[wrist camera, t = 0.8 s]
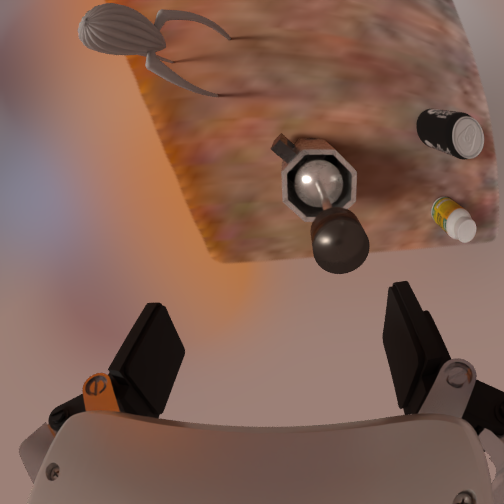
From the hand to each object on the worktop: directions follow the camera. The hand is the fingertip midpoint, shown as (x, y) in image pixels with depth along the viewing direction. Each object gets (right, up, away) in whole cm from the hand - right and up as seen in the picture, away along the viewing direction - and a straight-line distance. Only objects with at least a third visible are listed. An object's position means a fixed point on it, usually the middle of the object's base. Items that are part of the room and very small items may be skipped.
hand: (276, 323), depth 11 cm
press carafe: (+8, +17, +32) cm, 37 cm away
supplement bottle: (+33, +11, +32) cm, 48 cm away
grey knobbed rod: (+7, +11, +23) cm, 27 cm away
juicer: (-7, +33, +26) cm, 42 cm away
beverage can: (+28, +23, +26) cm, 45 cm away
